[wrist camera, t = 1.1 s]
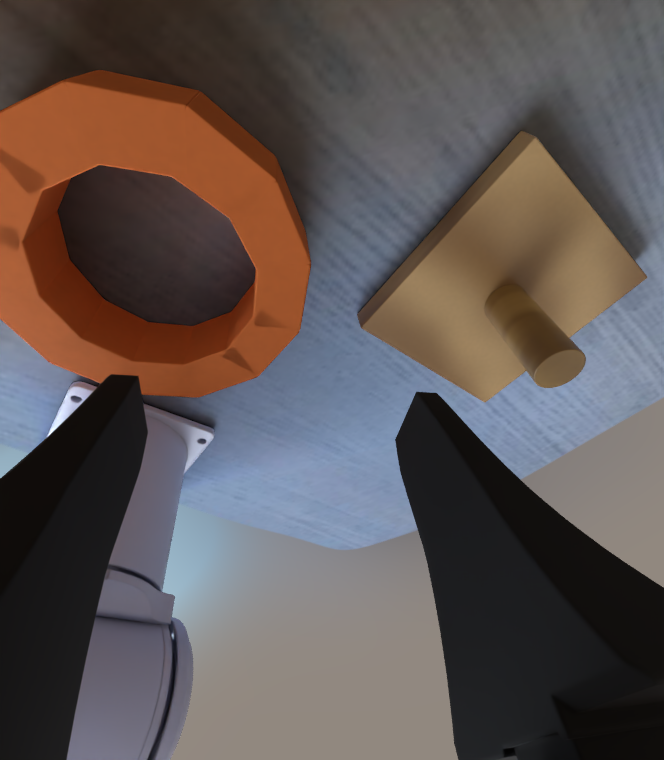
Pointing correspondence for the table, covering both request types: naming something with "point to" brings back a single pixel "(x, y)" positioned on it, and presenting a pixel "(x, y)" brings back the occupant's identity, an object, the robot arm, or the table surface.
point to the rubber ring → (158, 156)
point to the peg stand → (505, 279)
